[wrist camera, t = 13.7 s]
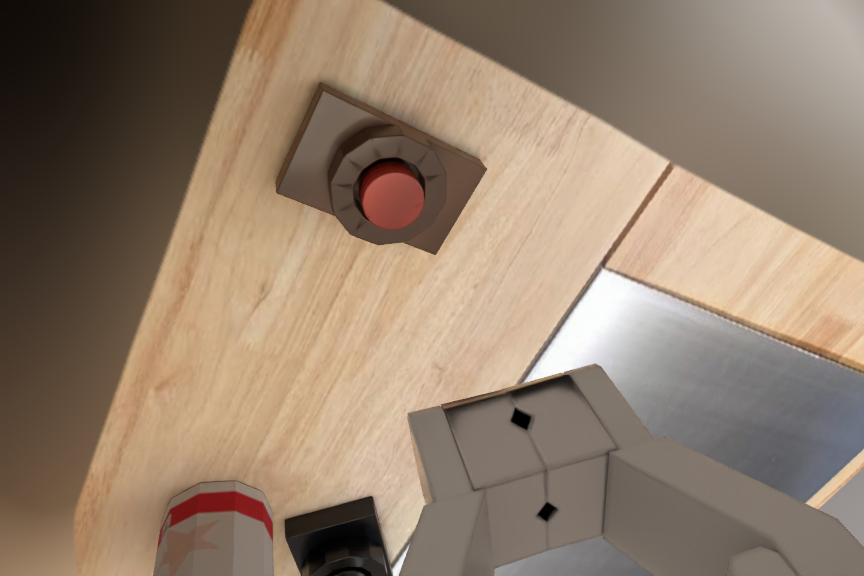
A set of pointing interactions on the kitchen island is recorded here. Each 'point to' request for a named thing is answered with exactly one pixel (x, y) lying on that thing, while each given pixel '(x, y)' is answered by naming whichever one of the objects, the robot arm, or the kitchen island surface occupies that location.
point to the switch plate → (339, 540)
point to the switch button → (349, 572)
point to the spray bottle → (216, 532)
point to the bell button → (391, 195)
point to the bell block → (361, 150)
